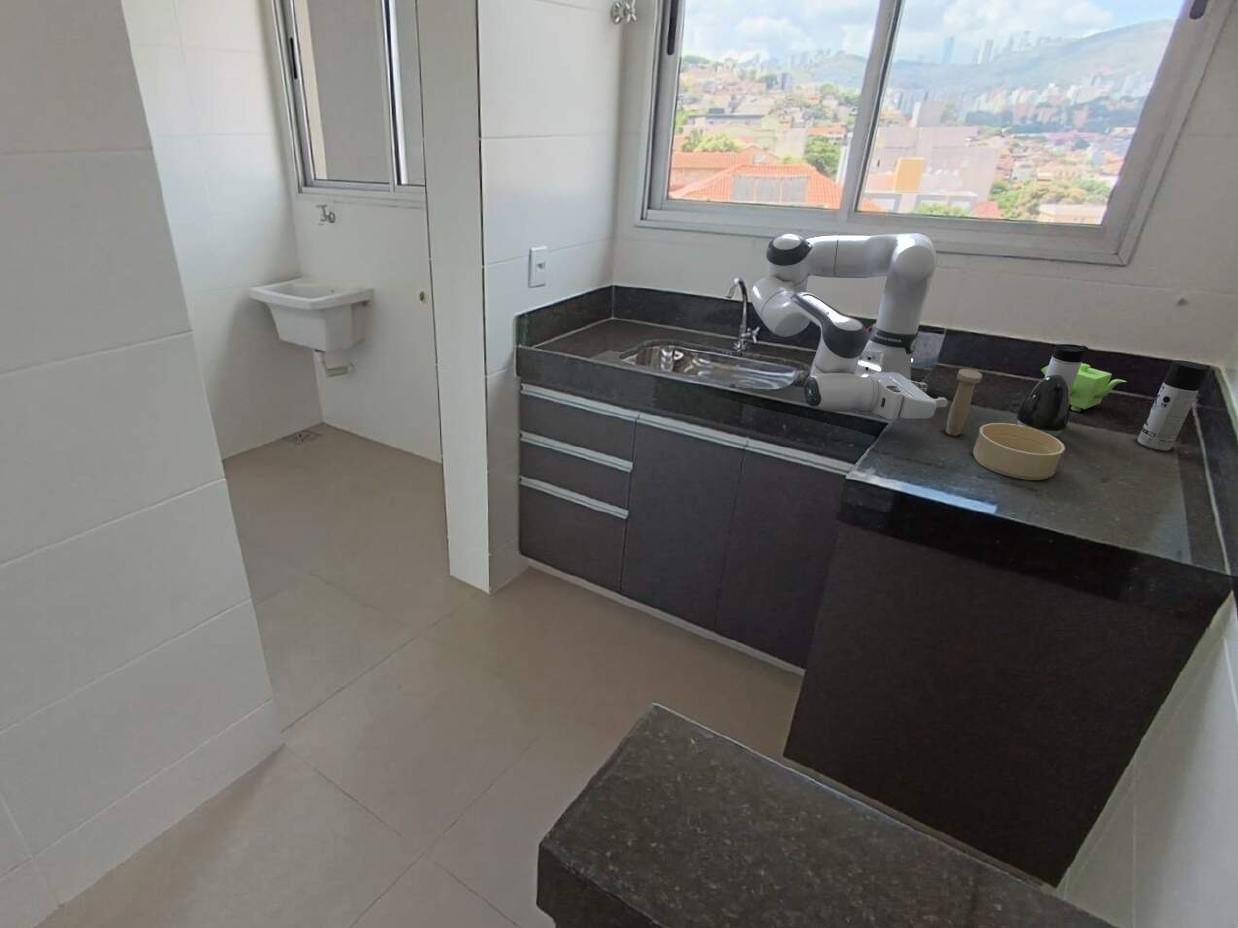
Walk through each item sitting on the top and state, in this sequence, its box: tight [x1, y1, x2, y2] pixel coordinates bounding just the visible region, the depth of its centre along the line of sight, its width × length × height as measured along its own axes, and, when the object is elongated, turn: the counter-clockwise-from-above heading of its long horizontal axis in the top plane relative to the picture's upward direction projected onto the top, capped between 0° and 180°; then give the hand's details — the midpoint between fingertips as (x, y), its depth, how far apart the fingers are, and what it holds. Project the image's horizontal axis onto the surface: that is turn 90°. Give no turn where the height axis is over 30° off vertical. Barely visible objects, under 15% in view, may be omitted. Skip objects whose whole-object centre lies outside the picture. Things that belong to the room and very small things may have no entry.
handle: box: [945, 368, 983, 437], centre depth 156 cm, size 5×6×15 cm
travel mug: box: [1044, 343, 1089, 393], centre depth 164 cm, size 6×7×20 cm
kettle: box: [1040, 362, 1127, 412], centre depth 179 cm, size 15×14×11 cm
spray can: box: [1137, 359, 1209, 452], centre depth 155 cm, size 7×7×20 cm
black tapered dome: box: [1016, 375, 1071, 438], centre depth 158 cm, size 10×10×15 cm
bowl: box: [972, 422, 1066, 481], centre depth 145 cm, size 16×16×6 cm
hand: (935, 394), depth 155 cm, fingers open, 8 cm apart
